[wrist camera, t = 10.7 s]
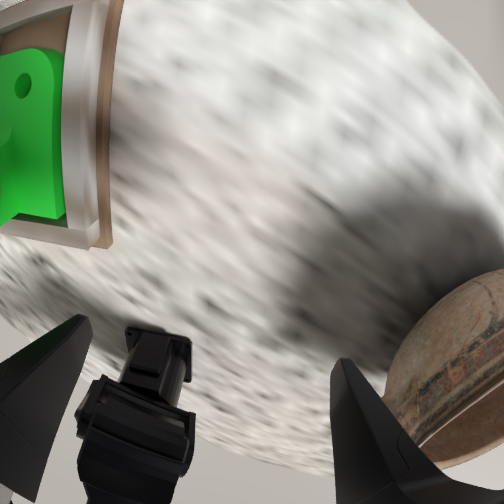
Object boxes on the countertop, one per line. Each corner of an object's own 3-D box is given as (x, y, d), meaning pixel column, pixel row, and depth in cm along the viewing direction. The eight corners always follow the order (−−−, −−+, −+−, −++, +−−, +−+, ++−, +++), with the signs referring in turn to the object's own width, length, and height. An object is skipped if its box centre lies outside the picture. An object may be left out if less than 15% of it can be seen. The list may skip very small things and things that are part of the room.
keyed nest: (112, 242, 22) (95, 263, 19) (4, 224, 22) (-15, 238, 19) (129, -23, 12) (108, -36, 9) (1, 14, 12) (-22, 14, 9)
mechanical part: (71, 208, 20) (3, 265, 13) (18, 199, 19) (-47, 247, 12) (76, 43, 14) (-12, 41, 7) (18, 55, 13) (-63, 65, 6)
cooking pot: (346, 402, 31) (358, 497, 21) (321, 274, 22) (350, 422, 12) (520, 340, 26) (558, 410, 16) (554, 207, 17) (633, 276, 7)
